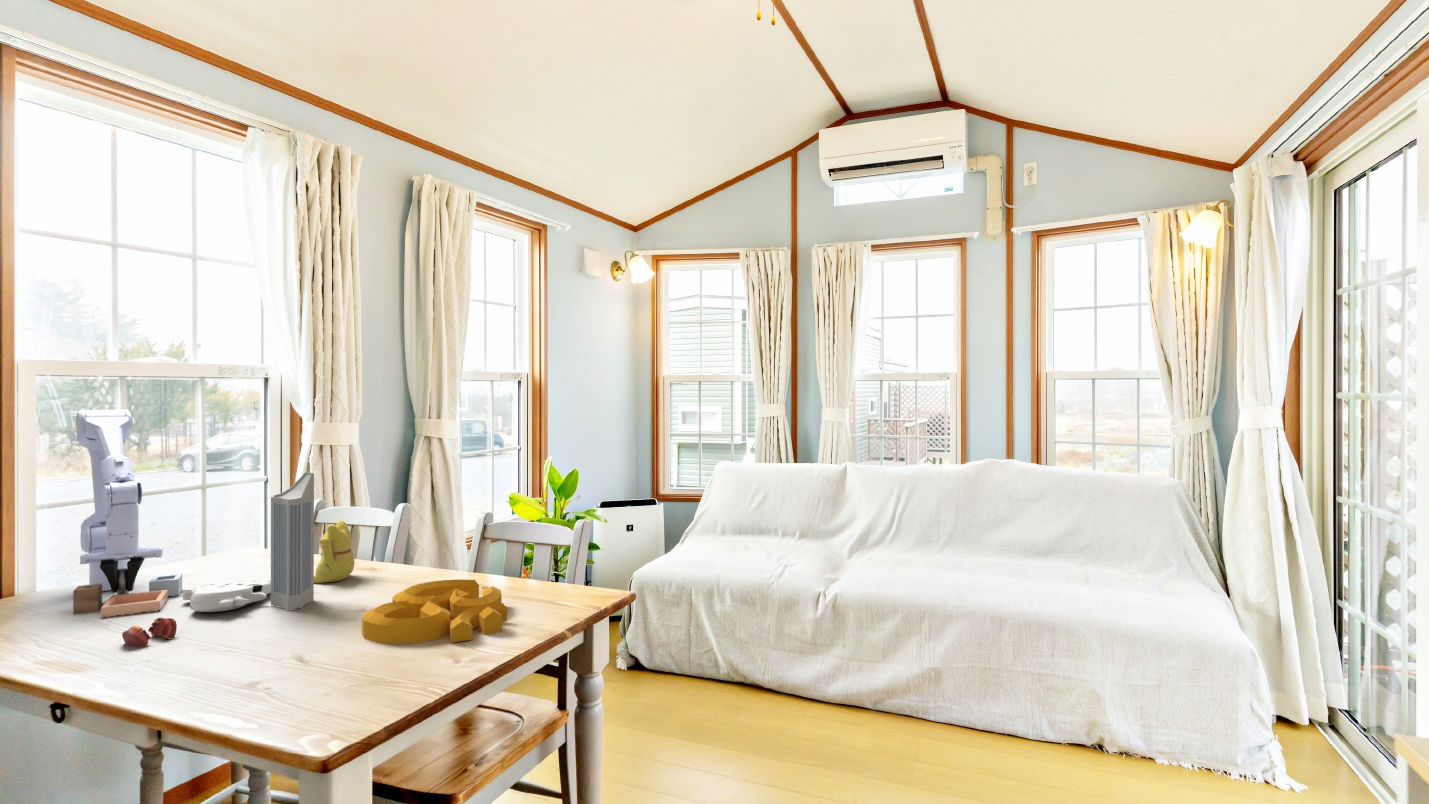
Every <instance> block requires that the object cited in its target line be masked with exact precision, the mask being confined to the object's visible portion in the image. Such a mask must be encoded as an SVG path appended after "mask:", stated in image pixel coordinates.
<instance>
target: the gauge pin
mask: <svg viewBox="0 0 1429 804" xmlns="http://www.w3.org/2000/svg"><path fill="white" fill-rule="evenodd" d="M127 587H128V568H122V569H117V570H116V594H115V595H121V594H130V591H128V588H127Z"/></svg>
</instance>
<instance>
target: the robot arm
mask: <svg viewBox="0 0 1429 804" xmlns="http://www.w3.org/2000/svg"><path fill="white" fill-rule="evenodd" d="M75 416H76V417H75V426H76V437H77V438H76V439H77V440H76V441H78V445H79V446H80V447H83V448H85V449H87V450H88V454H89V457H90V466H91V475H92V476H91V478H92V489H93V500H94V513H92V514H91V515H90V516H88V517H86V518H85V519H83V521H82V523H81V525H80V538H79V540H80V547H81V551H83V552H84V553H82V554H81V555H80V556H79V557H80V558H79V564H80V565H86V564H88V566H89V567H88V575H89V576H88V579H89V581H88V585H93V584H102V592H105V591H111V593H112V594H115V593H116V570H117V569H122V568H128V587H127V588H128V591H129V592H132V591H133V590H134V588H135V587H134V586H135V583H136V582H135V581H136V579H137V577H138V576H137V575H138V573H139V572H140V571H139V570H140V569H141V567H142V565H143V563H144V561H145V559H149V558H150V559H151V558H152V559H153V558H157V559H158V558H159V559H160V558H162V557H163V556H164V555H163V554H164V551H163V549H164V548H163V547H154V548H151V547H149V548H139V505H141V503H142V499H143V487H142V483H141V481H140V480H139V478H138V476H136V475H135V472H134V467H133V466H134V465H133V463H132V460H131V458H129V457H127V456H125V454H124V452H125V451H124V444H126V443H127V440H128V438H129V435H130V432H131V430H132V414H131V412H130V411H129V409H126V408H124V409H102V410H101V409H90V410H89V409H87V410H84V409H79V411H77V412H76V415H75Z"/></svg>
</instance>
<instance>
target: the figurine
mask: <svg viewBox="0 0 1429 804" xmlns="http://www.w3.org/2000/svg"><path fill="white" fill-rule="evenodd" d="M352 541H353V539H352V531H351V530H350V529H349V527H348V524H347V522H346V521H344V520H342V519H340V520H338V521H337V523H336V525H335V524H332V523H331V524H329V525H328V526H327V532H325V533H324V534H323V536H322V537H321V538H320V539H319V540H318V544H319V547H320V548H321V550H322V552H320V556H321V558H320V560H319V562H318V564H317V566H316V568H315V574H314V584H325V583H334V582H339V581H342V580H345V579H346V578H348V577H349V576H351V574H352V572H353V571H354V568H355V556H354V553H353V551H352Z"/></svg>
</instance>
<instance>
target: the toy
mask: <svg viewBox="0 0 1429 804" xmlns="http://www.w3.org/2000/svg"><path fill="white" fill-rule="evenodd" d="M181 594H182V600H184V601H190V604H189V607H190V609H192V610H193V611H195V612H201V613H217V612H225V611H231V610H232V611H233V610H236V609H237V610H238V609H240V608H244V607H246V606H248V605H250V604H251V603H254V602H255V603H256V602H260V601H262V600H263V601H264V600H265V599H267V595H269V594H271V580H249V581H248V580H247V581H246V580H245V581H235V582H234V581H231V582H225V583H216V584H215V583H214V584H212V583H210V584H209V583H208V584H205V585H203V586H199V587H194V588H193V587H192V588H191V587H190V588H182V591H181Z"/></svg>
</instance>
